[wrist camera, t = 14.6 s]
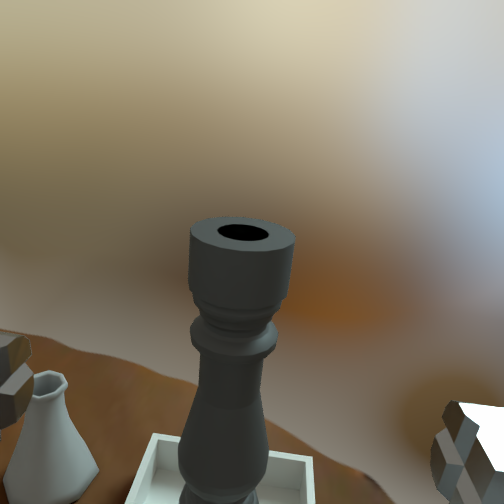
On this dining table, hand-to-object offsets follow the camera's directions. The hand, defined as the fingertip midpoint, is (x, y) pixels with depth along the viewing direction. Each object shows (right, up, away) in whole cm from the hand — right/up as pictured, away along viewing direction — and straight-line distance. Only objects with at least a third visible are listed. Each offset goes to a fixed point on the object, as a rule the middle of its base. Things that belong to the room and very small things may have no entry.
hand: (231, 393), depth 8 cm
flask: (-17, -17, +28) cm, 37 cm away
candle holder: (-2, -20, +23) cm, 30 cm away
